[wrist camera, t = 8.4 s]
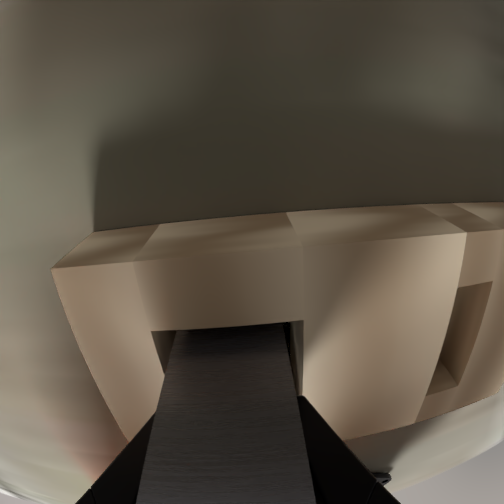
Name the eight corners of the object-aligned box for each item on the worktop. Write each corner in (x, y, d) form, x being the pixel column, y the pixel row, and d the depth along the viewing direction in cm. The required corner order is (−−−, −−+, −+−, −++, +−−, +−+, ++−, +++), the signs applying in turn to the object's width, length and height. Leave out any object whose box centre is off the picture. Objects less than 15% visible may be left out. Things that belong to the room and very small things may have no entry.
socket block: (505, 202, 10) (554, 224, 7) (469, 355, 13) (497, 392, 10) (93, 232, 10) (50, 269, 7) (146, 399, 13) (133, 450, 10)
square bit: (279, 308, 10) (327, 570, 3) (282, 379, 11) (312, 587, 4) (180, 316, 10) (125, 567, 3) (197, 385, 11) (177, 589, 4)
